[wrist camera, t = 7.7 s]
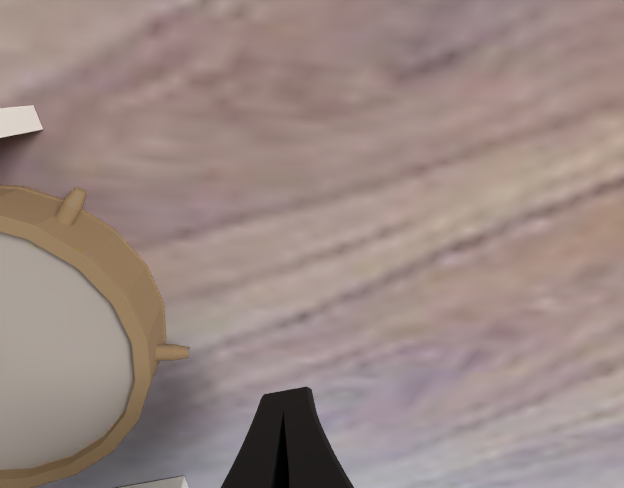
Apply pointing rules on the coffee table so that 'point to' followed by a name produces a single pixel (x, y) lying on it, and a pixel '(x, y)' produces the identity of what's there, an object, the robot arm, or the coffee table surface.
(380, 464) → the coffee table surface
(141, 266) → the alarm clock
